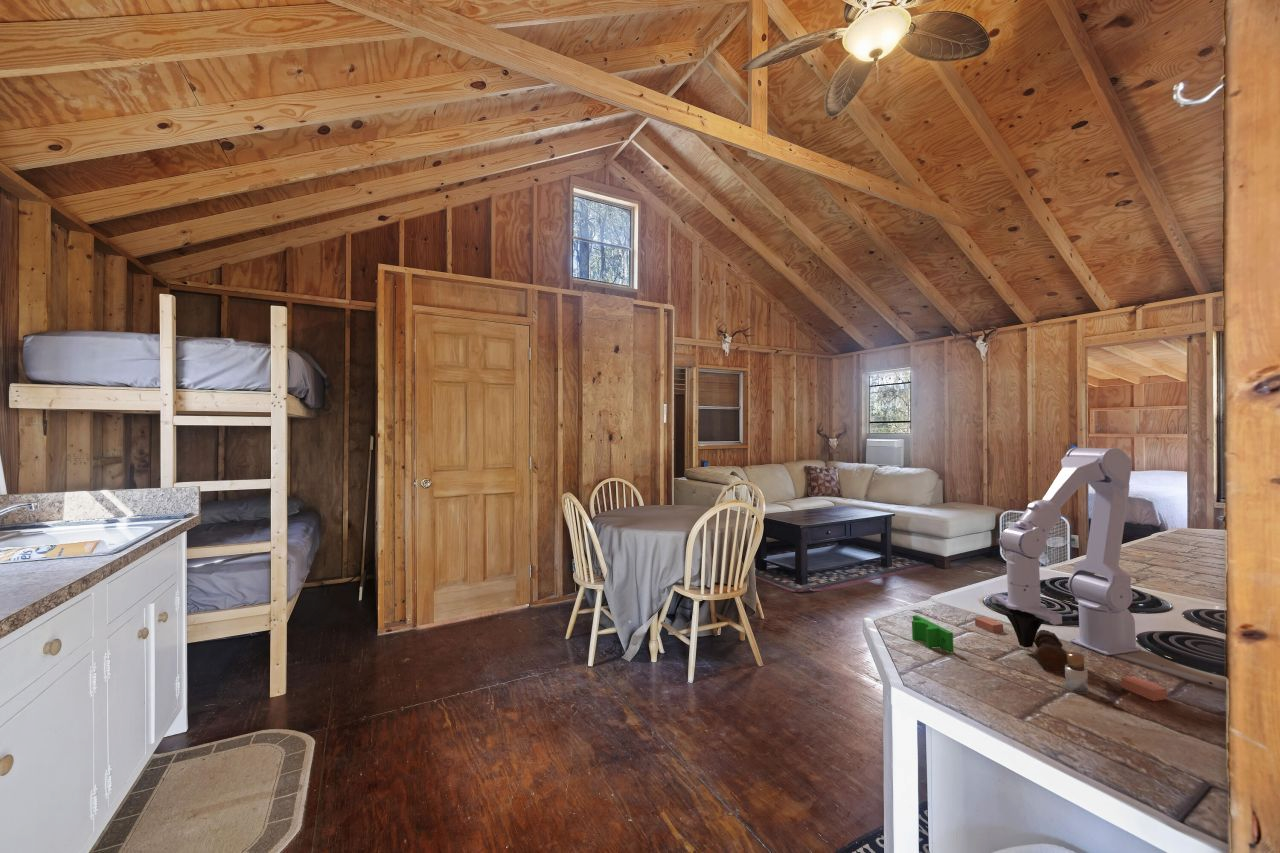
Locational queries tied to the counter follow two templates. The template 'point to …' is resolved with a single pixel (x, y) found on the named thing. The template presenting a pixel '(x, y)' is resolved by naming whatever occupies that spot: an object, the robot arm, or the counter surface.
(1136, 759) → the counter surface
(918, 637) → the pipe clamp
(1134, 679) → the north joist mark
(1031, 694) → the counter surface
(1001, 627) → the block
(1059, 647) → the bolt
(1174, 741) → the counter surface
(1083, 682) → the two-tone metal capsule
